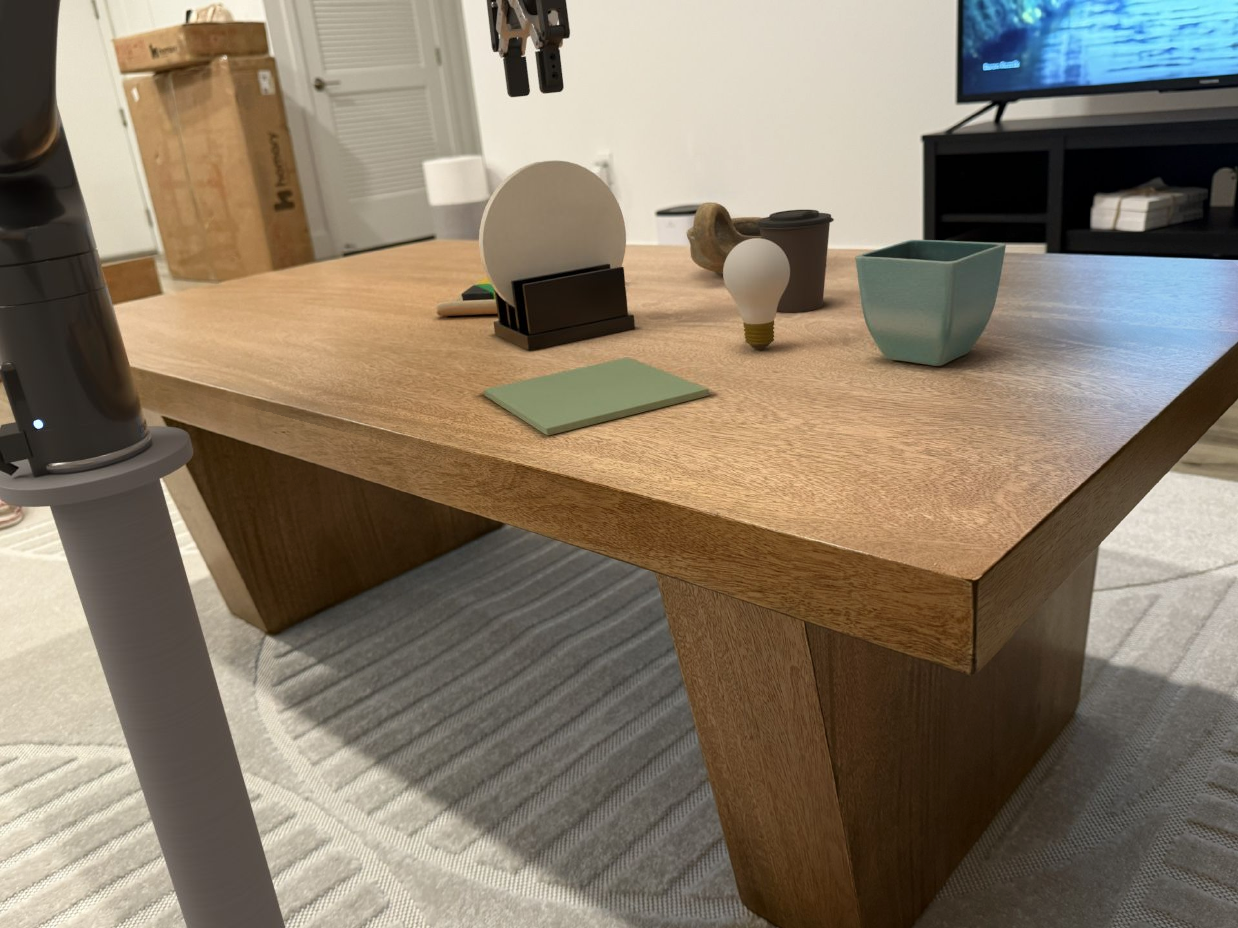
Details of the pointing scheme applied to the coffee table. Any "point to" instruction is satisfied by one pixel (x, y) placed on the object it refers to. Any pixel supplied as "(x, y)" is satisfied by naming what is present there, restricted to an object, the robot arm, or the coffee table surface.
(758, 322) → the light bulb
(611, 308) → the rack
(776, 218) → the coffee cup
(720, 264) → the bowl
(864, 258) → the flower pot
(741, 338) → the coffee table surface
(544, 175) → the plate
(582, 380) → the mat
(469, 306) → the wooden puzzle
